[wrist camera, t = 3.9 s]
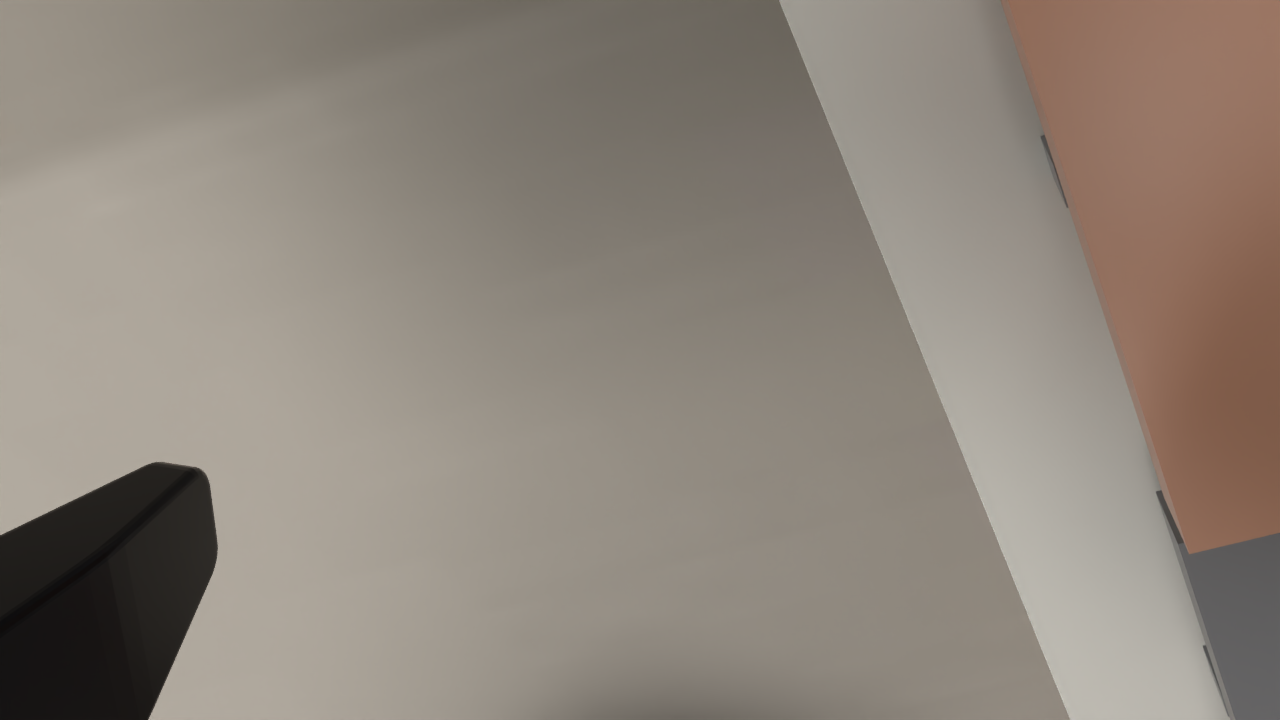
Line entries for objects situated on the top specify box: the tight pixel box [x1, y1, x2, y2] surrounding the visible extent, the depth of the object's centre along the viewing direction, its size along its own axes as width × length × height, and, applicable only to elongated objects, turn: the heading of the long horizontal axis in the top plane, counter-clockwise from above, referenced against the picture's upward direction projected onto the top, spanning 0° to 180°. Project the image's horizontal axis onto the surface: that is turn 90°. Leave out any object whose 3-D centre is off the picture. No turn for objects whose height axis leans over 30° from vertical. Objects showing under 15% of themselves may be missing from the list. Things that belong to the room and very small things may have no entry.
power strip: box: [779, 0, 1230, 720], centre depth 16 cm, size 33×9×6 cm, turn 26°
